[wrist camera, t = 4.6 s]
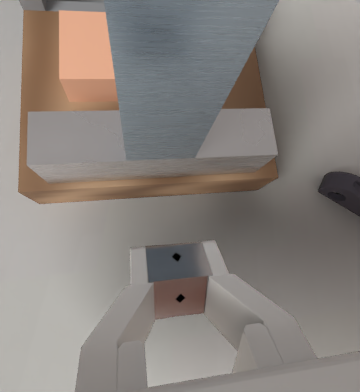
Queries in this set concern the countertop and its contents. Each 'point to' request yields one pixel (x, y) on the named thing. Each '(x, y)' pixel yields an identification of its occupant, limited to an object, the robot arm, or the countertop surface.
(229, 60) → the scraper
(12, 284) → the countertop surface
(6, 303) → the countertop surface
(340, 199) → the bracket
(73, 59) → the tile
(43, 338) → the countertop surface
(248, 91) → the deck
